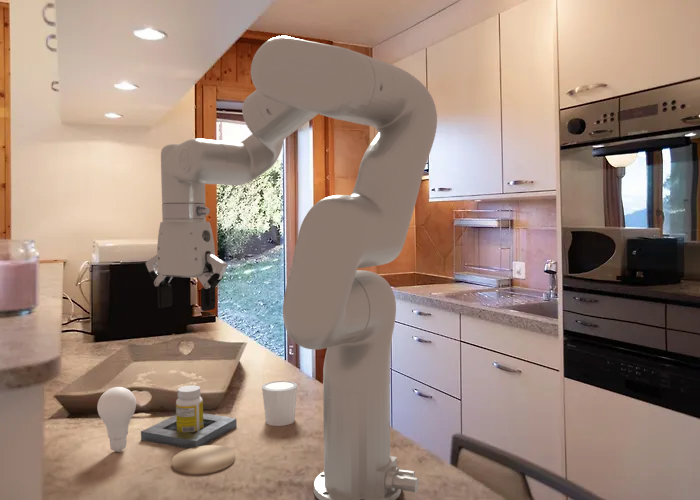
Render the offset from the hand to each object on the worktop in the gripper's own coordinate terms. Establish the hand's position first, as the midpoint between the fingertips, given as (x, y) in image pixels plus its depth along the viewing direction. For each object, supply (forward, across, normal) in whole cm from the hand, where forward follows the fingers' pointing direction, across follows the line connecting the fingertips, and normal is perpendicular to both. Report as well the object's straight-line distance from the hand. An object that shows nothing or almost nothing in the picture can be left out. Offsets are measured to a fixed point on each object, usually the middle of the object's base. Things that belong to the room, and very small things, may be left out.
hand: (186, 308), depth 104 cm
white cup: (+23, -12, -12) cm, 29 cm away
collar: (+23, 0, 0) cm, 23 cm away
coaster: (+23, -10, +9) cm, 27 cm away
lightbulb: (+23, +6, +11) cm, 27 cm away
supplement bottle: (+23, 0, 0) cm, 23 cm away
